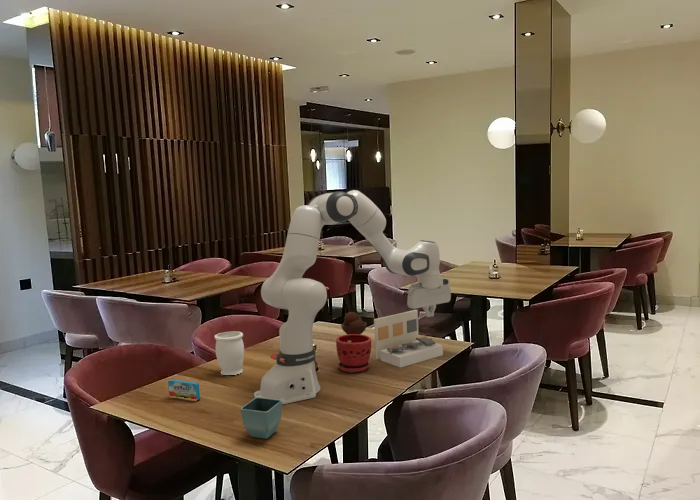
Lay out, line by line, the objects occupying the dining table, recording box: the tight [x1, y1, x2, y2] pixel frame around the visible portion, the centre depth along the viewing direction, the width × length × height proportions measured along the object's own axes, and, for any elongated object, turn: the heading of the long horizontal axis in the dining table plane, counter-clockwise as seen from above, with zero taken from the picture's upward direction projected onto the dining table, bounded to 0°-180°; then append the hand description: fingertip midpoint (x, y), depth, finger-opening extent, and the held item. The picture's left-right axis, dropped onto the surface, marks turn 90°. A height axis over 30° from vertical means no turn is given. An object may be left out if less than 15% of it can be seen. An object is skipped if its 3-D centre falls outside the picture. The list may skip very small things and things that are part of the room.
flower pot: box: [240, 397, 283, 440], centre depth 156 cm, size 9×9×9 cm
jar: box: [214, 330, 245, 376], centre depth 211 cm, size 11×10×15 cm
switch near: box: [387, 346, 406, 351], centre depth 214 cm, size 4×7×1 cm, turn 35°
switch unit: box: [373, 309, 444, 369], centre depth 219 cm, size 22×15×16 cm
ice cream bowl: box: [340, 311, 368, 343], centre depth 239 cm, size 11×11×15 cm
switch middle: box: [402, 342, 421, 347], centre depth 218 cm, size 4×7×1 cm, turn 35°
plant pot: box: [335, 334, 372, 373], centre depth 209 cm, size 13×13×12 cm
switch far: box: [416, 335, 436, 346], centre depth 223 cm, size 4×7×1 cm, turn 35°
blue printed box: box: [167, 378, 201, 399], centre depth 187 cm, size 12×2×6 cm, turn 65°
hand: (429, 316), depth 219 cm, fingers closed
